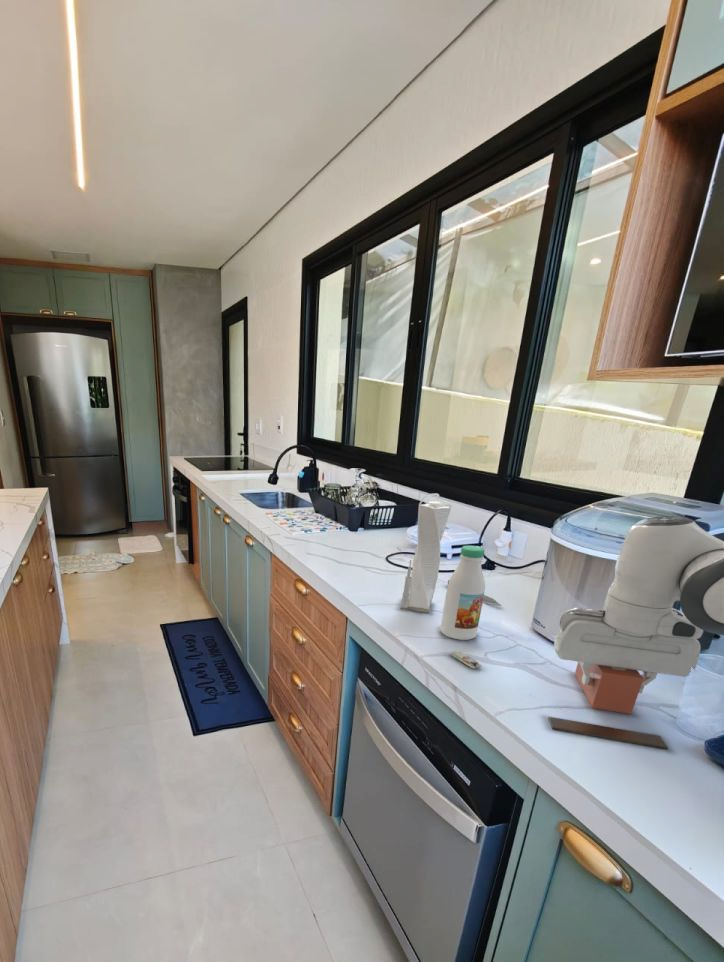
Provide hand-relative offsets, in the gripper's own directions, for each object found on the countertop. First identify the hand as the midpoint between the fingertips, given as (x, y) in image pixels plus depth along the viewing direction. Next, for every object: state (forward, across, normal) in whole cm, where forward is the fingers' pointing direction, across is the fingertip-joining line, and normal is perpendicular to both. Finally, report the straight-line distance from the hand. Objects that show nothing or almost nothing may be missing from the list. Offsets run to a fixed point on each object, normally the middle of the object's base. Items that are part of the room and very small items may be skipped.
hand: (610, 687), depth 88 cm
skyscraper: (+3, -33, +35) cm, 48 cm away
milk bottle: (+3, -24, +21) cm, 32 cm away
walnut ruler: (+3, -3, -10) cm, 11 cm away
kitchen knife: (+3, -19, +47) cm, 51 cm away
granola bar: (+3, -23, +7) cm, 25 cm away
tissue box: (+3, 0, +3) cm, 4 cm away
